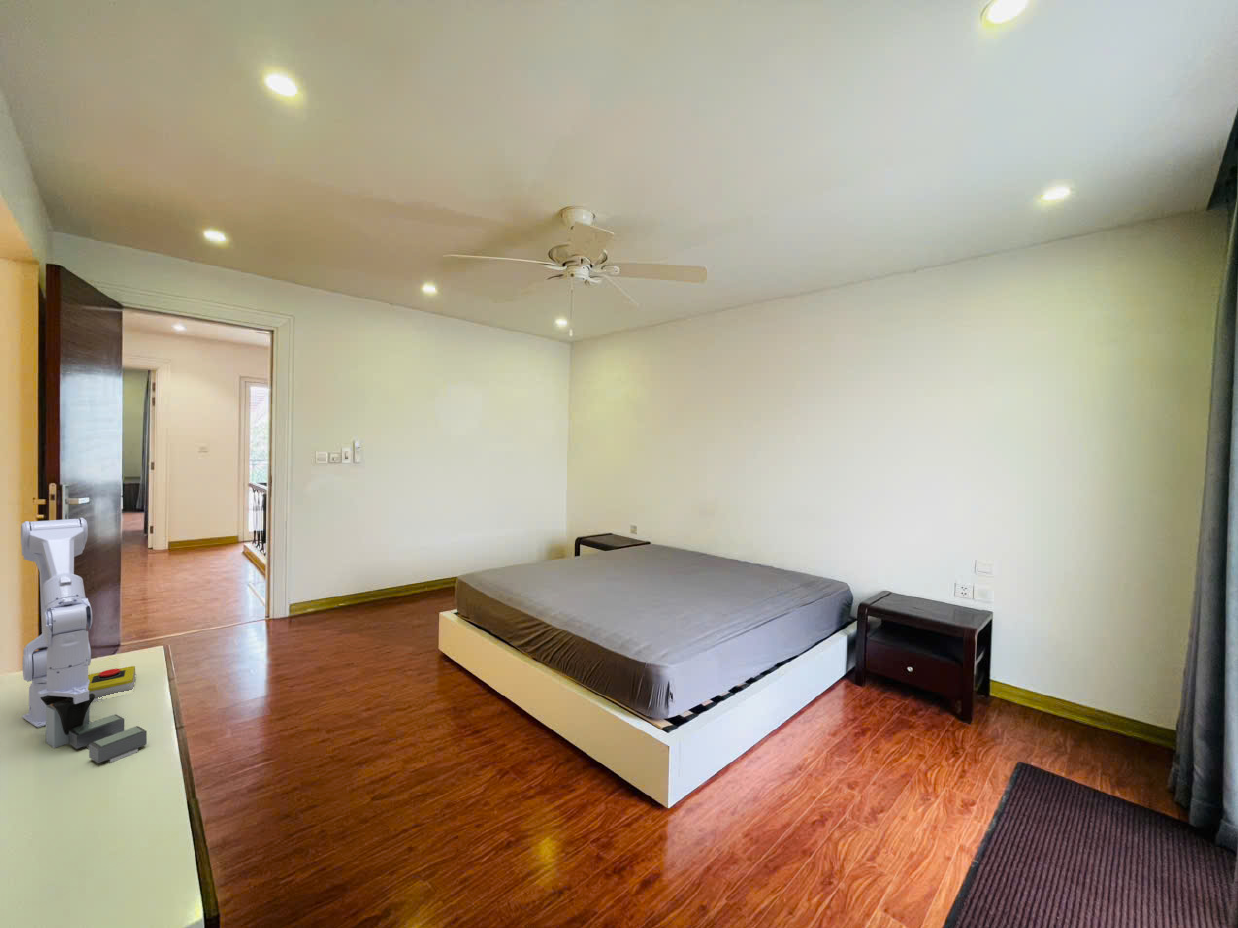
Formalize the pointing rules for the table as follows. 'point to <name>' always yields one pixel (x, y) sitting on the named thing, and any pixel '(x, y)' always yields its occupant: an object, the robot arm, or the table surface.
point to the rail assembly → (108, 739)
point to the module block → (58, 727)
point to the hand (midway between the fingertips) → (67, 729)
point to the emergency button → (111, 682)
